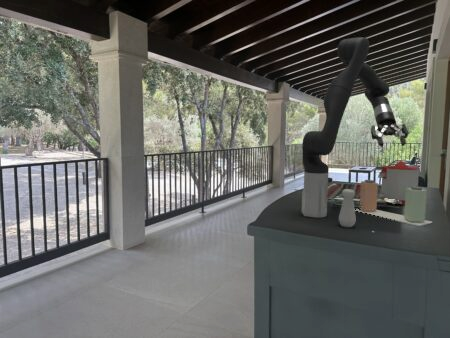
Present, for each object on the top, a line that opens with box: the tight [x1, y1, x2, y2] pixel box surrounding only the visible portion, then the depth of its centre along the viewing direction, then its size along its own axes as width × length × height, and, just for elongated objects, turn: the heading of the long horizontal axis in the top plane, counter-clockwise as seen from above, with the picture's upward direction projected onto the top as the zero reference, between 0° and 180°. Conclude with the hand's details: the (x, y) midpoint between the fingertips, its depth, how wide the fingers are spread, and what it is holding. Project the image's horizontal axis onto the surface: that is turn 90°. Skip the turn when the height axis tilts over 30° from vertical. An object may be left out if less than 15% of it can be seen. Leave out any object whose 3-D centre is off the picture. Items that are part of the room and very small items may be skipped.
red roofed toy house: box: [377, 160, 420, 206], centre depth 161 cm, size 16×17×20 cm
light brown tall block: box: [359, 179, 379, 211], centre depth 143 cm, size 5×5×12 cm
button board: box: [355, 208, 433, 227], centre depth 136 cm, size 28×9×1 cm, turn 33°
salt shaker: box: [338, 188, 357, 228], centre depth 121 cm, size 6×6×13 cm
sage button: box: [403, 186, 428, 222], centre depth 127 cm, size 5×5×12 cm
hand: (392, 145), depth 143 cm, fingers open, 8 cm apart
